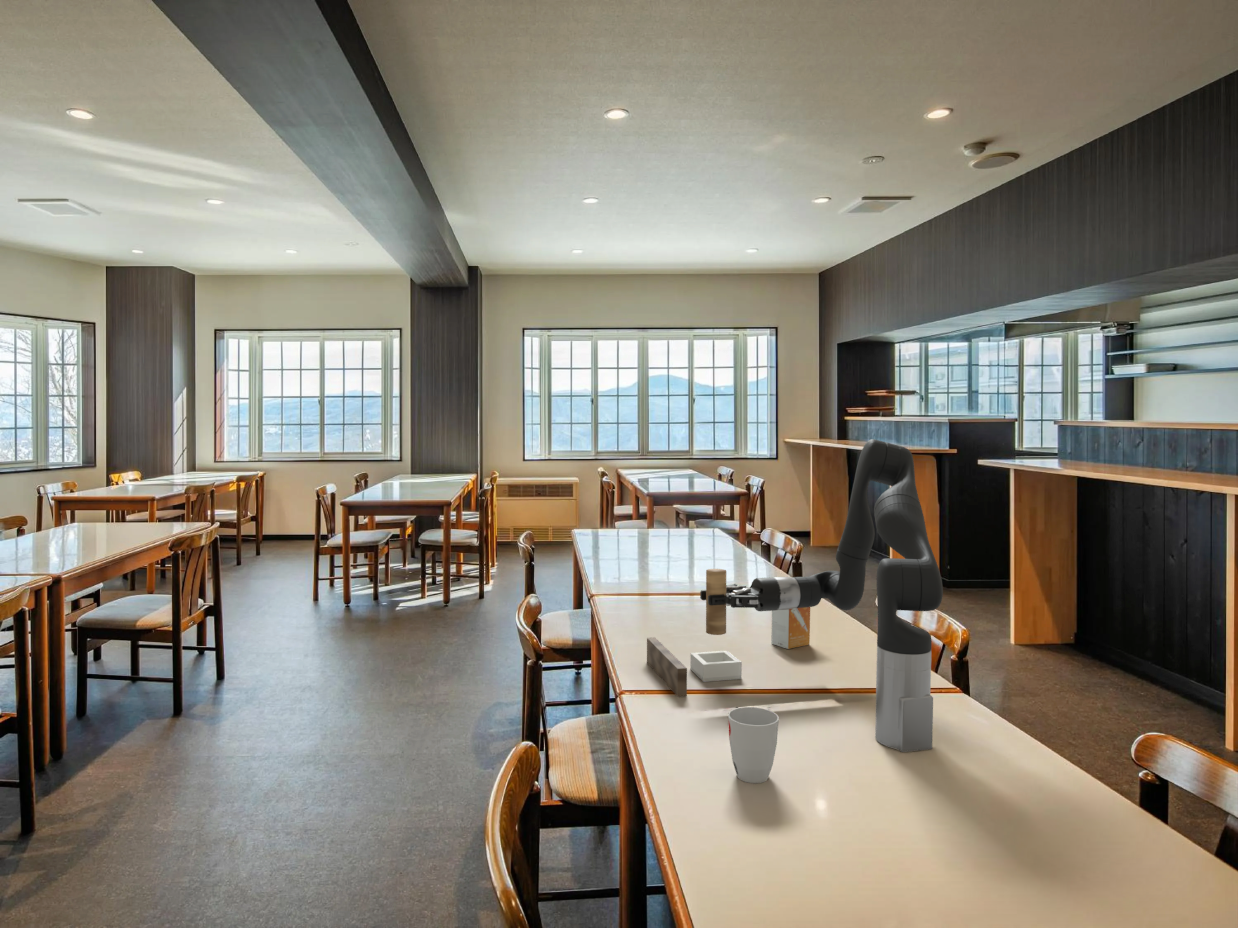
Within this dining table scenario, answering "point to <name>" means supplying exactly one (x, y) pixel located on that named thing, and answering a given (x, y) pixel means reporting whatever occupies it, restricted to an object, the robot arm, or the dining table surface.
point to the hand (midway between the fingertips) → (704, 597)
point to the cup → (753, 742)
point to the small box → (791, 627)
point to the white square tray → (715, 666)
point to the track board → (667, 666)
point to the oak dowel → (715, 612)
